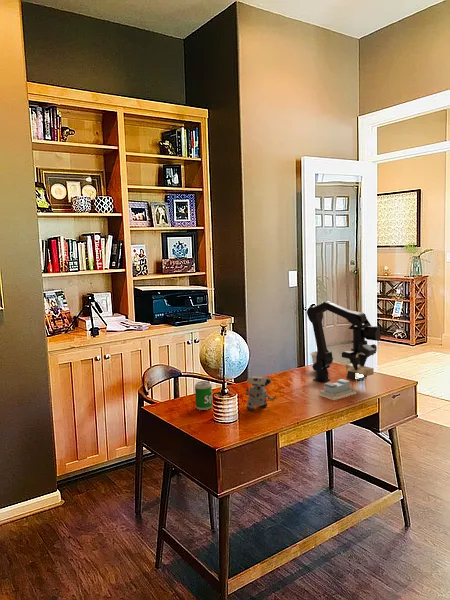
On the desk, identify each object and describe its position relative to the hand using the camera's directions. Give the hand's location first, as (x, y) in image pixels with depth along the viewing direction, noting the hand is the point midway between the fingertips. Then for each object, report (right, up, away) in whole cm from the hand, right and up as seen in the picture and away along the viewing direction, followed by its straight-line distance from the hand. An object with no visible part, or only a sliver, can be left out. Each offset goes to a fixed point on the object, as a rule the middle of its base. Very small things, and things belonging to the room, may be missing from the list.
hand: (359, 369), depth 244 cm
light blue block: (-13, -10, -8) cm, 18 cm away
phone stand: (+4, -7, +19) cm, 21 cm away
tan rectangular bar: (0, -1, 0) cm, 1 cm away
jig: (-13, -11, -8) cm, 19 cm away
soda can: (-76, -15, -21) cm, 80 cm away
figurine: (-51, -15, -25) cm, 58 cm away
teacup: (-11, -6, +33) cm, 35 cm away
